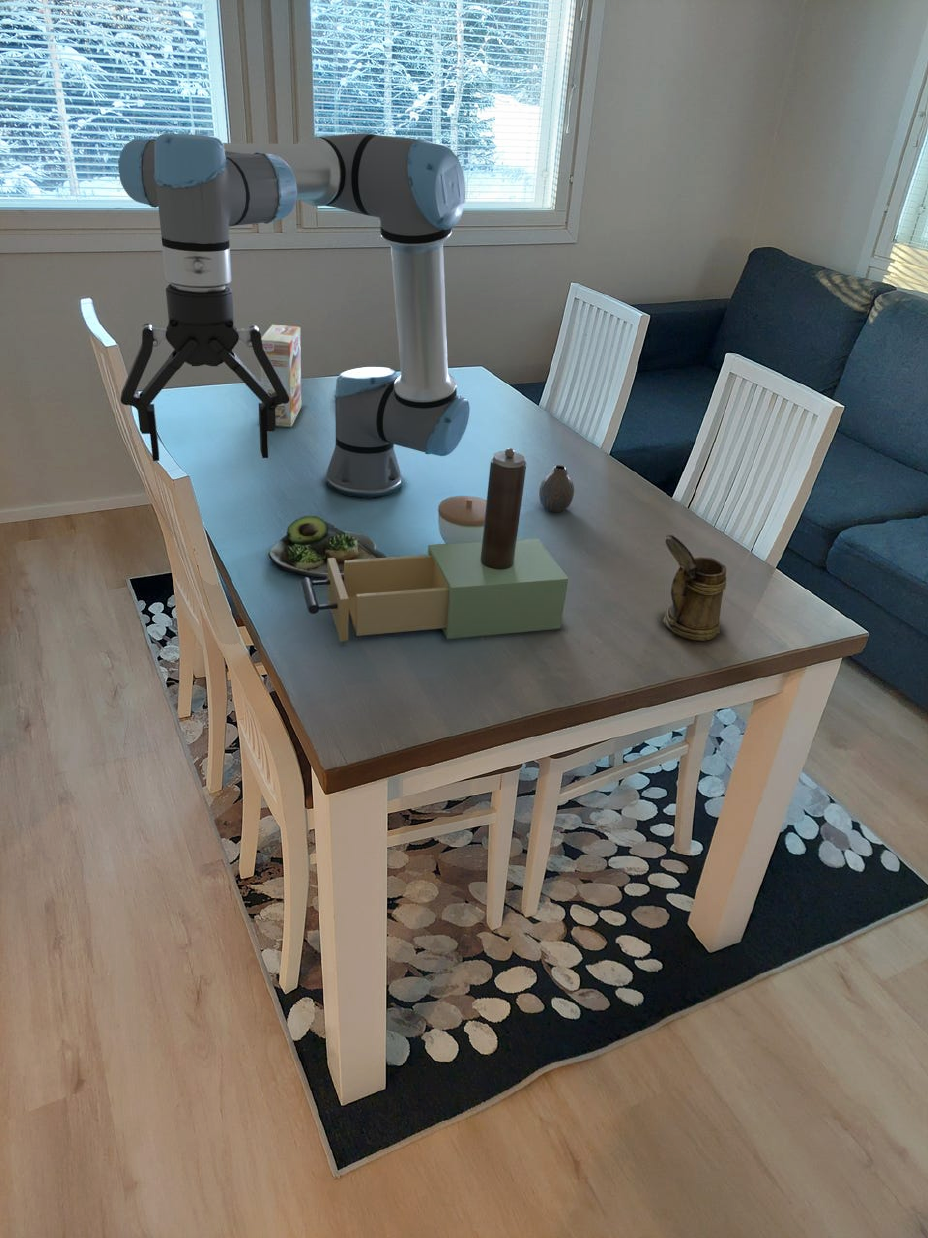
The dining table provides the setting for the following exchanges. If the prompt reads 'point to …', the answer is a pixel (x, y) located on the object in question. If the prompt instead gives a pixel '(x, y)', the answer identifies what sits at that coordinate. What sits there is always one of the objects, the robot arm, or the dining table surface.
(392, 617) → the drawer
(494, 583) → the cabinet
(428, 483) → the dining table surface
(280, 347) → the coffeecake box
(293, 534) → the salad plate
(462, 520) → the trinket box
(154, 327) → the robot arm
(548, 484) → the vase
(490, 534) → the pepper mill
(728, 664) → the dining table surface
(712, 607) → the wooden mug
